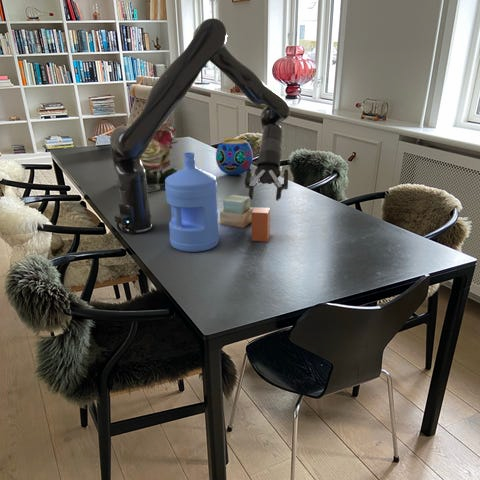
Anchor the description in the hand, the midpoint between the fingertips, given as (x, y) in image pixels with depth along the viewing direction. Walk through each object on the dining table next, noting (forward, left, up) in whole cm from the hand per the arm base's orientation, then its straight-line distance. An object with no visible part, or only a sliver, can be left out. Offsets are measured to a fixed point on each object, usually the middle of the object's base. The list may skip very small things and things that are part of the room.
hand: (264, 198), depth 160 cm
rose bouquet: (+14, +75, -11) cm, 77 cm away
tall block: (-6, -4, -11) cm, 13 cm away
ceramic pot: (+51, +59, -11) cm, 79 cm away
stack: (+1, +13, -11) cm, 17 cm away
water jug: (-23, +10, -11) cm, 28 cm away
